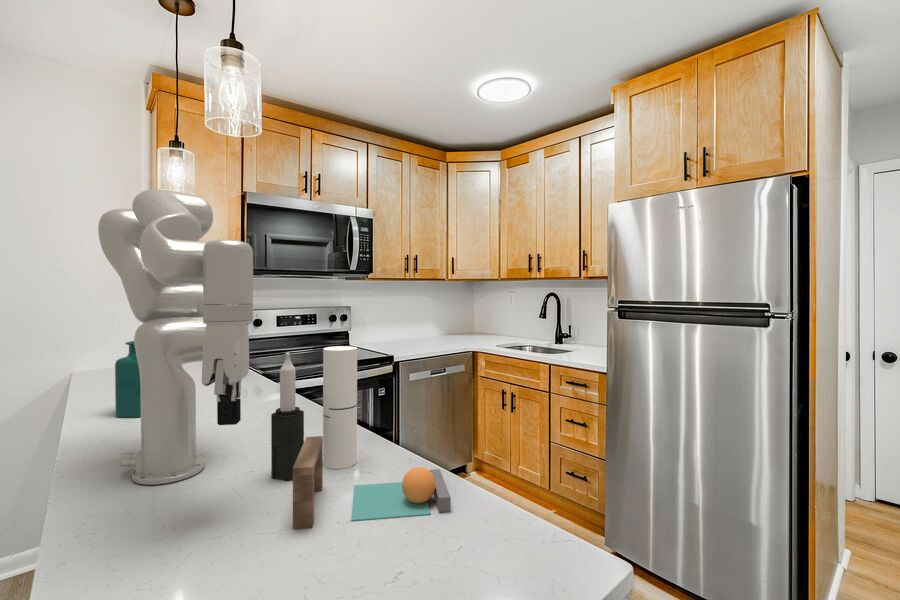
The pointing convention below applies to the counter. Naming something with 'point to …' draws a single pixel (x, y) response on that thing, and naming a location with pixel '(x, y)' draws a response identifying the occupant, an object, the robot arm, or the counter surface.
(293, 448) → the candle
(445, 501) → the wall
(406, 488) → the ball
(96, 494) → the counter surface
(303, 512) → the bridge
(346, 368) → the cylindrical container
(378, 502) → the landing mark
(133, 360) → the teal green bottle
